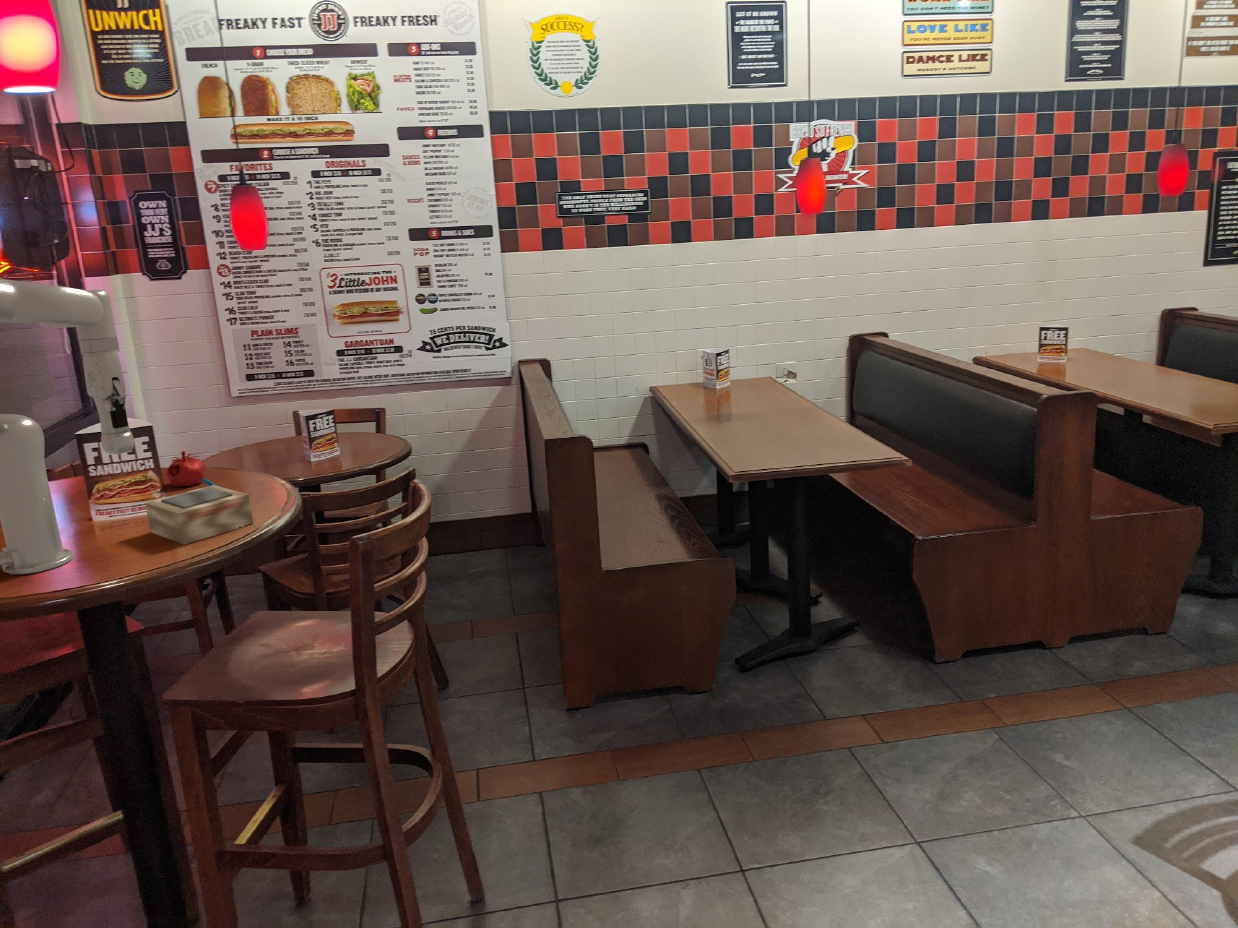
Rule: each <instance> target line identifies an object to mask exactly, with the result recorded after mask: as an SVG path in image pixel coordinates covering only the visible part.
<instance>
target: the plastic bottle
mask: <svg viewBox="0 0 1238 928" xmlns="http://www.w3.org/2000/svg"><path fill="white" fill-rule="evenodd" d="M91 392H92V395H93V397H92V398H93V400H94V403H95V407H96V410H97V413H98V418H99V422H100V430H101V431H100V432H101V434H100V437H101V439H100V441H101V442H100V444H101V447H102V449H103V451H104V452H105V453H106V454H109V455H111V454H112V455H123V454H125V453H128V452H131V451H133V450H134V447H135V438H134V436H133V433H132V431H131V428H130V425H129V423H128V426H127V427H122V428H117V429H114V428H113V426H112V421H111V416H110V411H112V410H111V408H110V405H109V402H108V397H107V398H106V399H101V398H99V397H98V392H97V390H96V388H95V387H94V386H93V387H92V391H91ZM112 396H117V394H116V392H113V393H111V397H112ZM113 402H115V399H113Z"/></svg>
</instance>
